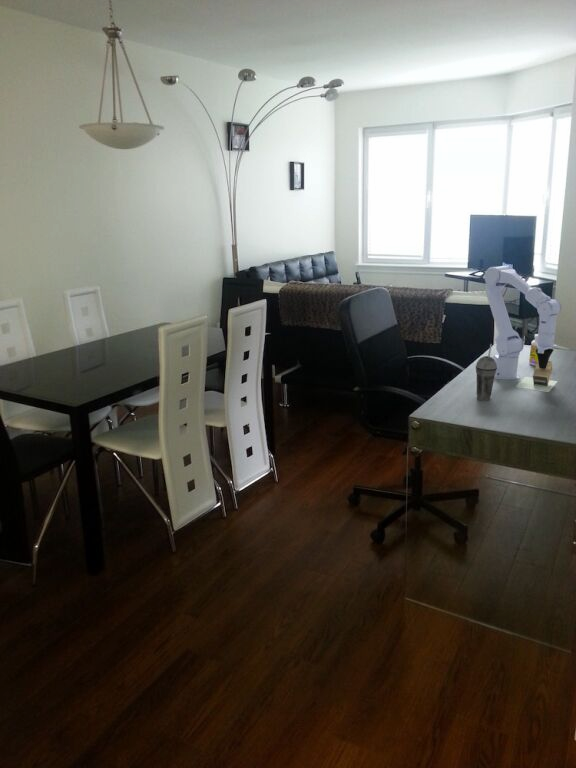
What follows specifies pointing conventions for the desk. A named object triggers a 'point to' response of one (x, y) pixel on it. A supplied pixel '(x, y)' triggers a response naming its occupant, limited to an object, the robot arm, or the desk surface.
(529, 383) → the mat
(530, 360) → the supplement bottle
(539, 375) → the tan block
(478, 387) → the beverage cup
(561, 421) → the desk surface
